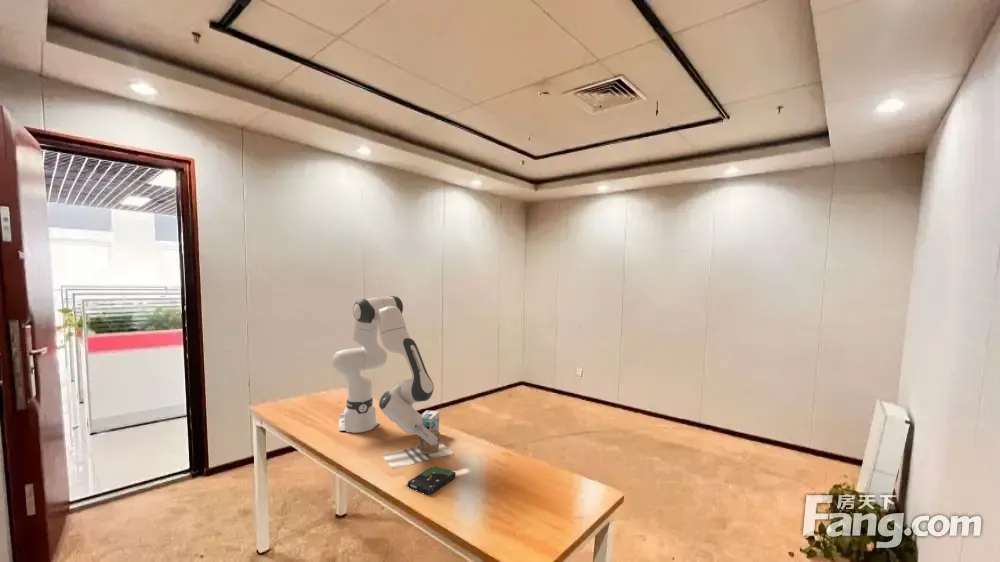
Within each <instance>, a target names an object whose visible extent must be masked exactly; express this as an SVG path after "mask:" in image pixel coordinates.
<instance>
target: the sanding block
mask: <svg viewBox="0 0 1000 562" xmlns="http://www.w3.org/2000/svg"><path fill="white" fill-rule="evenodd" d="M429 431H430V432H431V433H433V434H434V435H435V436H436V437H437V438H438V440H437V441H438V444H437V445H436V446H435V445H433V446H431V445H430V444H429V443H428V442H426V441H425V440H424V439H423V438H422V437H421V438H420V445H419V446H420V450H421V451H422V452H423V453H424V454H430V453H436V452H438V449H439V441H440V435H441V432H440V431H439V432H438V431H437V430H436V429H430V430H429Z"/></svg>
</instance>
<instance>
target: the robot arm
mask: <svg viewBox="0 0 1000 562" xmlns="http://www.w3.org/2000/svg"><path fill="white" fill-rule="evenodd" d="M403 304H404V303H403V301H402V300H401V299H400V297H398V296H394V295H390V296H386V295H384V296H382V295H380V296H375V297H369V298H362V299H359V300H356V301H355V303H354V305H353V309H352V310H353V311H352V313H353V314H352V315H353V317H354V322H353V327H352V335H351V338H352V341H354V342H355V343H356V344H357V345H359V346H361V347H354V348H353V347H352V348H345V349H341V350H338V351H336V352H335V353H334V354H333V357H332V359H331V361H332V362H331V365H332V367H333V369H334V370H335V371H336V372H337V373H339V374H340V375H341V376H342V377H343V378H344V379H345V381H346V385H347V399H346V405H345V408H344V410H343V412H342V413H340V415H339V416H340V419H338V432H340V431H346V432H347V433H350V432H351V433H353V434H355V433H357V434H359V433H364V432H369V431H371V430H372V429H373V430H374V428H375V427H376V426H378V425H379V424H380V421H378V420H377V413H376V412H377V411H376V408H375V406H373V405H374V404H373V402H374V399H373V394H372V393H373V384H372V381H371V380H370V379H369V378H368V377H365V376H362V374H361V371H366V370H368V371H369V370H375V369H378V368H381V367H383V366H385V364H386V362H387V361H388V354H387V352H386V350H387V351H389V352H392V353H394V354H400V355H402V356H403V357H404V358H405V360H406V362H407V365H408V367H409V370H410V373H411V377H412V378H408V379H405V380H402V381H400V382H398V383H396V384H395V386H393V388H392V389H390V390H388V391H386V392H384V393H383V395H382V396H381V397H380V399H379V402H378V406H379V409H380V411H381V412H382V413H383V415H385V417H386V418H388V419H389V420H390V421H392V422H393V423H396V425H397V427H399V429H401V430H402V431H403V432H405V434H407V435H410V434H415V433H416V434H417V436H418V435H419V436H421V437H422V438H423V439H424V440H425V441H426V442H428V443H429V444H430V445H431V446H433V445H435V446H436V445H437V444H438V441H437V440H438V438H437V437H436V436H435V435H434V434H433V433H431V432H430V431H429V430H428V429H427V428H426V427H424V426H423V425H422V424H423V421H422V414H421V413H419V412H418V411H417V410H416V409H415V408H414V407H413V404H416V403H418V402H419V403H420V402H425V401H429V400H430V399H431V397H432V396H433V393H434V383H433V380H432V379H431V377H430V375H429V373H428V371H427V369H426V366H425V363H424V361H423V358H422V355H421V353H420V350H419V348H418V346H417V343H416V341H415V340H414V339H412V338H411V337H410V334H409V333H408V332H409V331H408V329H407V326H406V322H405V319H404V317H403V315H402V314H403V311H404V305H403ZM378 330H379V335H380V340H381V344H382V346H383V347H382V346H381V345H380V344H379V343H378ZM346 432H345V433H346Z"/></svg>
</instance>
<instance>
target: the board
mask: <svg viewBox="0 0 1000 562" xmlns="http://www.w3.org/2000/svg"><path fill="white" fill-rule="evenodd" d="M450 455H452V456H455V453H454V451H452V450H451V449H450V448H449V447H447V445H445V444H443V443H442V441H440V440H439V449H438V452H436V453H430V454H424V453H423V452H422V451H421V450H420V445H418V446H414V447H410V448H404V449H400V450H396V451H392V452H388V453H383V454H381V457H382V458H383V459H384V460H385V462H386V463H387V464H388V465H389V466H390V468H391V469H392V470H395V469H398V468H403V467H407V466H411V465H414V464H419V463H422V462H426V461H429V460H434V459H438V458H442V457H446V456H450Z"/></svg>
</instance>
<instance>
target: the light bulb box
mask: <svg viewBox="0 0 1000 562" xmlns="http://www.w3.org/2000/svg"><path fill="white" fill-rule="evenodd" d="M421 415H422V421H423V424H422V425H423V426H424V427H426V428H427V429H428V430H430V429H436V430H437V431H438V432H440V412H439V411H435V410H427V409H426V410H425V411H424V412H422V414H421ZM417 438H418V439H421V436H419V435H418V434H417Z"/></svg>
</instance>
